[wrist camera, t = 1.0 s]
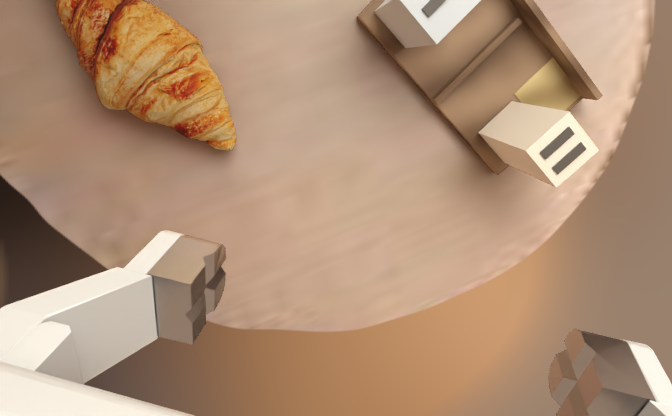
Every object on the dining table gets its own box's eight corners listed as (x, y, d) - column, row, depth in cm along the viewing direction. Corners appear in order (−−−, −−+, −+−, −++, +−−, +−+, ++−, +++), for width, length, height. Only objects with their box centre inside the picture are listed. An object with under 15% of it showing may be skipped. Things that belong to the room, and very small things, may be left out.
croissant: (257, 119, 48) (280, 101, 41) (194, 187, 45) (207, 181, 38) (91, -42, 42) (83, -97, 35) (4, 25, 39) (-23, -20, 32)
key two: (478, 132, 46) (526, 151, 36) (513, 100, 45) (571, 110, 35) (503, 162, 47) (557, 188, 38) (538, 131, 46) (601, 149, 37)
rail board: (356, 16, 43) (362, 13, 39) (450, -82, 41) (464, -95, 37) (493, 172, 49) (508, 180, 45) (580, 93, 47) (602, 95, 44)
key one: (373, 11, 41) (397, -4, 32) (410, -27, 41) (446, -55, 31) (405, 48, 43) (437, 44, 33) (441, 11, 42) (485, -4, 32)
